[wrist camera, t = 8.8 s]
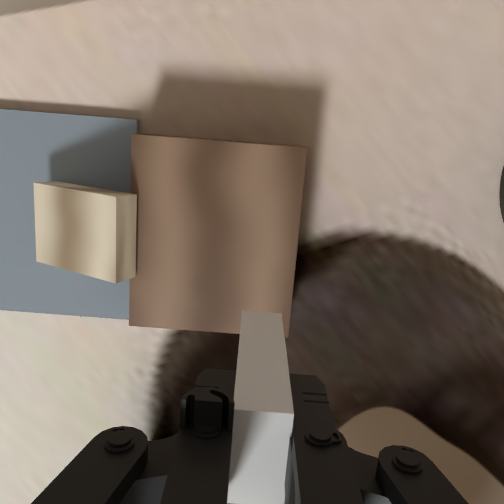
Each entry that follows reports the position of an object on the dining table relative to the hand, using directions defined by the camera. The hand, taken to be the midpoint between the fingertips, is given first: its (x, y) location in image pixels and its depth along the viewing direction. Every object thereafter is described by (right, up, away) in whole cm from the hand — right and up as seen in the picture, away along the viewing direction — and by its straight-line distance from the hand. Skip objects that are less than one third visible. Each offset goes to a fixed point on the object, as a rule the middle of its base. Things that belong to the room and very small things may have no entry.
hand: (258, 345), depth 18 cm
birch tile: (-12, +5, +17) cm, 22 cm away
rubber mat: (-15, +6, +19) cm, 25 cm away
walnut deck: (-3, +5, +20) cm, 20 cm away
